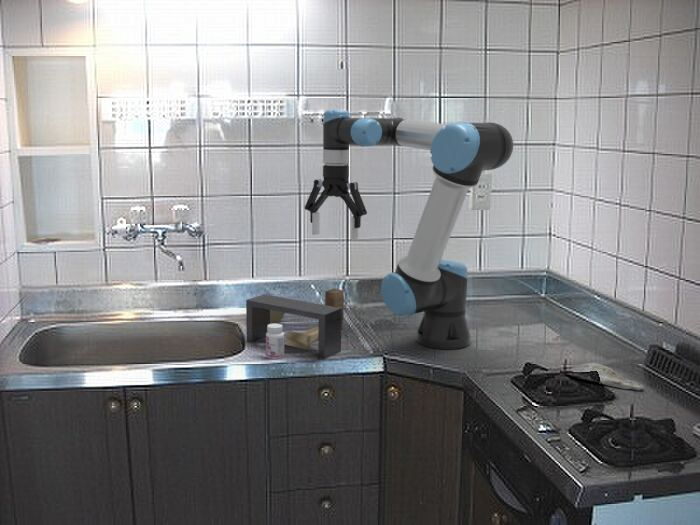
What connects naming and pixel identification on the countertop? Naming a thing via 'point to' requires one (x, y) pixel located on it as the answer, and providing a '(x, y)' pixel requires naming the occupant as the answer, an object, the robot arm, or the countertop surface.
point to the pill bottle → (275, 341)
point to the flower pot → (276, 316)
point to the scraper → (311, 336)
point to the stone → (609, 376)
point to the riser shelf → (327, 315)
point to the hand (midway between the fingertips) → (334, 236)
